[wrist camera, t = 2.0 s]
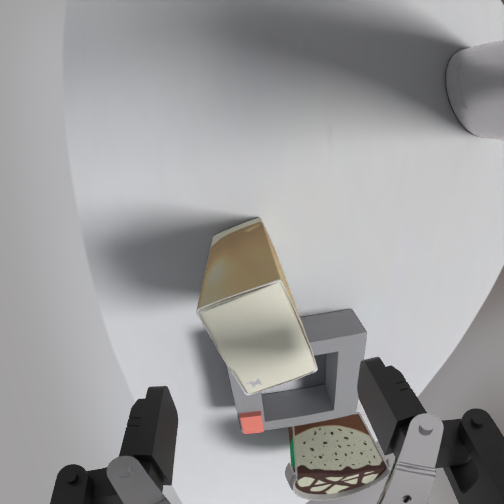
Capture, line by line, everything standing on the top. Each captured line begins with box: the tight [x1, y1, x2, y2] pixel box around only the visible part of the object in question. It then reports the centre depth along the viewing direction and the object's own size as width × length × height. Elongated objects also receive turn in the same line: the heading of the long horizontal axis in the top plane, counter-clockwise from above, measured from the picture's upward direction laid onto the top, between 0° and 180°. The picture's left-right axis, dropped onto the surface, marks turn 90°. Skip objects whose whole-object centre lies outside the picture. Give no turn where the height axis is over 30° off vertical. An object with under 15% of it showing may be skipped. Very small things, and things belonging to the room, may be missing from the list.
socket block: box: [227, 309, 367, 434], centre depth 29 cm, size 12×11×5 cm
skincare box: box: [197, 217, 317, 395], centre depth 21 cm, size 6×4×12 cm
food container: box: [285, 412, 391, 500], centre depth 30 cm, size 12×6×10 cm, turn 75°
